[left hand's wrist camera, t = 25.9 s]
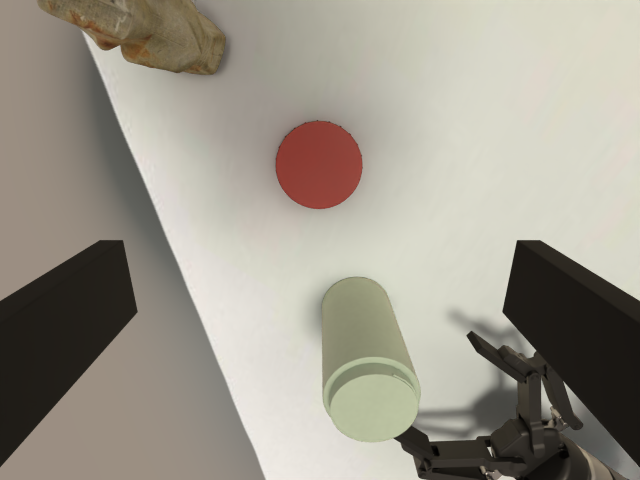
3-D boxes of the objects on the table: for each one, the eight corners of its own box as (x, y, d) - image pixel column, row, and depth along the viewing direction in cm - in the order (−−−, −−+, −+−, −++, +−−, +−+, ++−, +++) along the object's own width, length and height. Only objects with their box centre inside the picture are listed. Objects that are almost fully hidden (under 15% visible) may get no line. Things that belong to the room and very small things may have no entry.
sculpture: (163, -12, 31) (34, -109, 17) (240, 30, 32) (179, -28, 18) (143, 55, 33) (13, 18, 19) (217, 93, 34) (145, 84, 20)
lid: (335, 103, 35) (336, 102, 33) (375, 180, 37) (378, 183, 36) (260, 148, 36) (258, 149, 35) (304, 219, 39) (303, 224, 37)
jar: (365, 345, 44) (387, 460, 30) (309, 317, 43) (304, 423, 29) (403, 296, 42) (446, 395, 28) (344, 265, 41) (358, 352, 26)
